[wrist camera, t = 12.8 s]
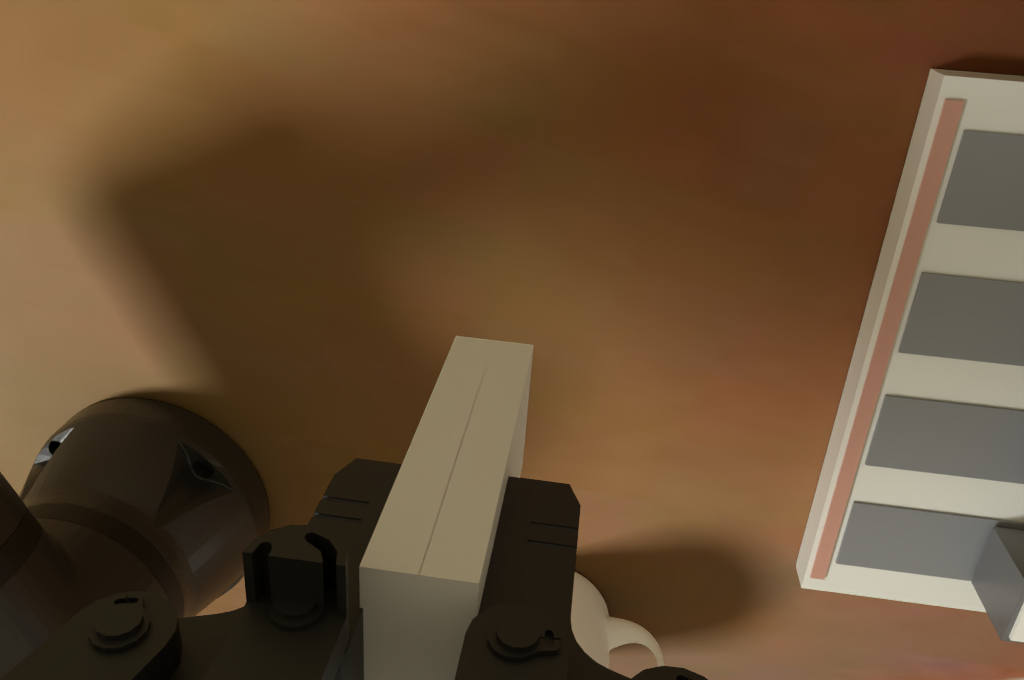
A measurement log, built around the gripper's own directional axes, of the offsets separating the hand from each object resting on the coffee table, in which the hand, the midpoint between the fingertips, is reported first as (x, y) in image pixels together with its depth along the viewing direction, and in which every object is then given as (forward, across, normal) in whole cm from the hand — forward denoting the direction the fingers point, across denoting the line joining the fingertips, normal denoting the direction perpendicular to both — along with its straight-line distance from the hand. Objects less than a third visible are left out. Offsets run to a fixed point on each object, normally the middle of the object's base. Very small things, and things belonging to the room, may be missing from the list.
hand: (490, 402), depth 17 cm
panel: (+29, +23, -12) cm, 39 cm away
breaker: (+27, +27, -22) cm, 44 cm away
